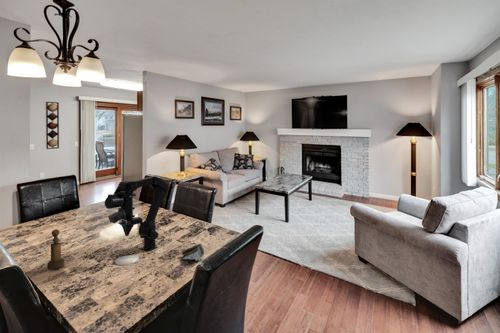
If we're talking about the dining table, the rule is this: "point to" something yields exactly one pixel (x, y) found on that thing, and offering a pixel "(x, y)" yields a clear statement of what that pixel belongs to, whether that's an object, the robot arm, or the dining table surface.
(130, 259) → the white round plate
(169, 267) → the dining table surface
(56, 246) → the wooden chess pawn
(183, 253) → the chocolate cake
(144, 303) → the dining table surface
